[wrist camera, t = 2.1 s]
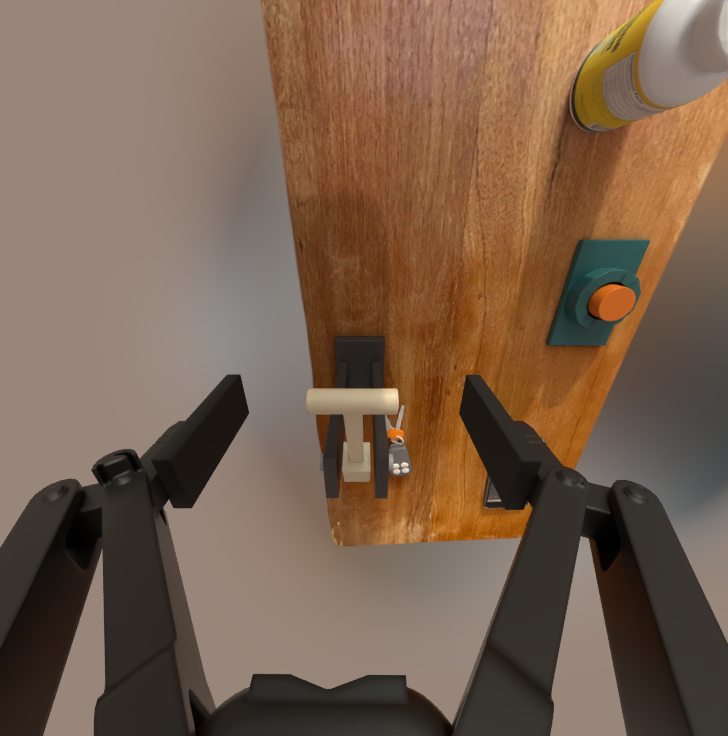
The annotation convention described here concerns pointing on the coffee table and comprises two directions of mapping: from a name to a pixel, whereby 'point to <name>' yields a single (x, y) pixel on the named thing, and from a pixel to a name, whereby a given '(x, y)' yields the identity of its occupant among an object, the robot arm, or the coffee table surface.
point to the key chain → (398, 448)
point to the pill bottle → (652, 64)
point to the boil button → (611, 302)
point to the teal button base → (586, 275)
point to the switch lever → (353, 421)
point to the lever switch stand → (354, 371)
